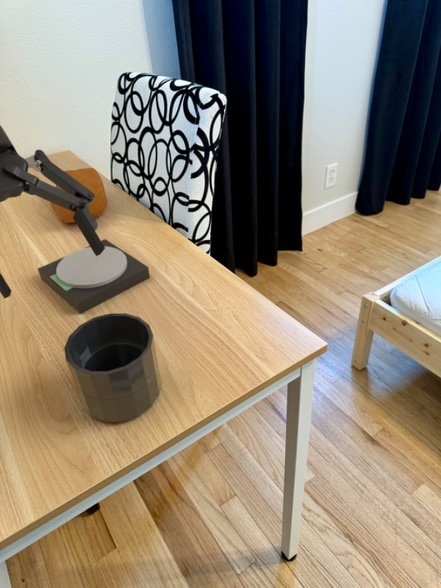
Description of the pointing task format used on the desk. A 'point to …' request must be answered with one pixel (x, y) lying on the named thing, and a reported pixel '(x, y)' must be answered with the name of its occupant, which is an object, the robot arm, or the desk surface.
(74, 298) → the scale
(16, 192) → the robot arm
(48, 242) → the desk surface
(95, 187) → the bread
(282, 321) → the desk surface
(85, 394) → the cup
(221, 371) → the desk surface
